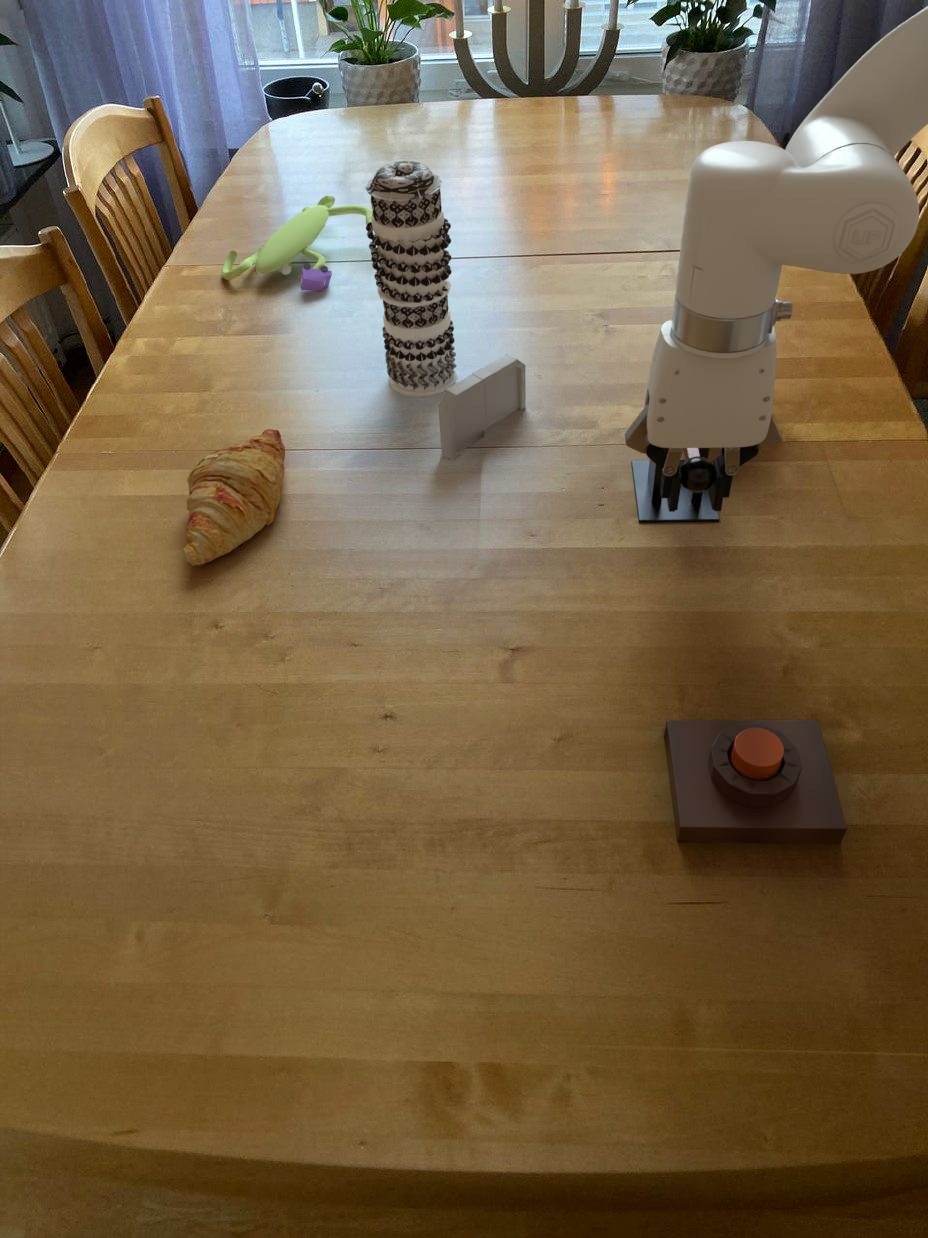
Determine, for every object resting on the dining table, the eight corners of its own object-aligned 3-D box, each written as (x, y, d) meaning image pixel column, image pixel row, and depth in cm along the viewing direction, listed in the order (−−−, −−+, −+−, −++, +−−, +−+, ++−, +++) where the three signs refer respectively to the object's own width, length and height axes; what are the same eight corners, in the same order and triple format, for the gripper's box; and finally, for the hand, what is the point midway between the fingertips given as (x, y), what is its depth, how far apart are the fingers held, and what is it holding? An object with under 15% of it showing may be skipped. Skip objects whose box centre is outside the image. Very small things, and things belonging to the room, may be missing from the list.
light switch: (526, 413, 113) (525, 354, 107) (452, 460, 107) (447, 400, 102) (515, 408, 114) (514, 348, 108) (441, 454, 108) (436, 394, 103)
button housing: (812, 736, 79) (823, 705, 76) (840, 844, 72) (853, 815, 69) (663, 736, 80) (668, 705, 77) (677, 843, 73) (683, 813, 70)
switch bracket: (718, 528, 97) (736, 430, 89) (638, 529, 98) (648, 432, 89) (705, 467, 104) (720, 371, 96) (630, 469, 105) (639, 373, 96)
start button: (775, 741, 74) (779, 727, 73) (783, 780, 72) (788, 766, 70) (727, 741, 74) (730, 727, 73) (734, 780, 72) (738, 766, 71)
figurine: (422, 238, 147) (419, 201, 143) (297, 311, 133) (290, 273, 129) (334, 211, 155) (329, 175, 151) (208, 278, 141) (199, 240, 137)
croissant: (230, 603, 98) (249, 557, 92) (137, 558, 96) (150, 508, 90) (303, 473, 112) (324, 426, 106) (223, 432, 110) (239, 381, 104)
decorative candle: (444, 403, 115) (428, 191, 97) (373, 392, 118) (344, 183, 100) (470, 364, 121) (459, 156, 103) (402, 353, 124) (380, 149, 106)
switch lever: (715, 499, 86) (720, 469, 84) (679, 499, 86) (683, 469, 84) (696, 423, 96) (700, 394, 93) (663, 423, 96) (666, 395, 94)
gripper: (819, 291, 77) (776, 475, 91) (611, 296, 78) (599, 477, 92) (840, 340, 72) (792, 527, 85) (618, 344, 73) (604, 529, 86)
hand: (692, 500), depth 88 cm, fingers closed on switch lever, 3 cm apart
